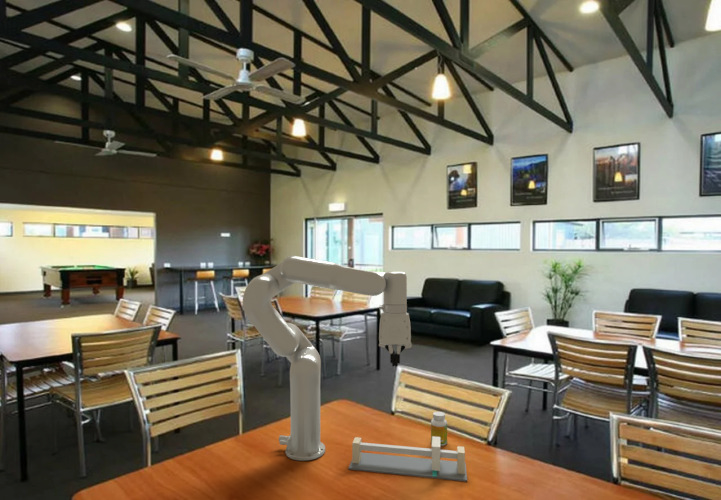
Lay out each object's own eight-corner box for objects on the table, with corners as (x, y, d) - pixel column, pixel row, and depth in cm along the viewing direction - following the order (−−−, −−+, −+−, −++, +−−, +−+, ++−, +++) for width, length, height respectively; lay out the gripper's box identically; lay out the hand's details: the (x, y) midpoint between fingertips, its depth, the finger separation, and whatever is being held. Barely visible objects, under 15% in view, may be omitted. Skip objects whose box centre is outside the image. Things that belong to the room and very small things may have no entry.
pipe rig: (348, 469, 124) (348, 447, 124) (355, 453, 134) (355, 433, 134) (467, 481, 117) (467, 458, 117) (465, 463, 127) (465, 442, 127)
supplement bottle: (447, 447, 138) (447, 417, 138) (430, 445, 139) (430, 416, 139) (447, 439, 143) (447, 411, 144) (431, 438, 145) (431, 410, 145)
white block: (431, 470, 121) (431, 446, 121) (432, 458, 127) (432, 436, 127) (440, 470, 120) (440, 447, 120) (440, 459, 127) (440, 436, 127)
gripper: (370, 310, 135) (370, 367, 135) (417, 311, 132) (417, 369, 132) (374, 307, 143) (374, 361, 143) (418, 308, 140) (418, 363, 140)
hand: (395, 365), depth 137 cm, fingers closed
